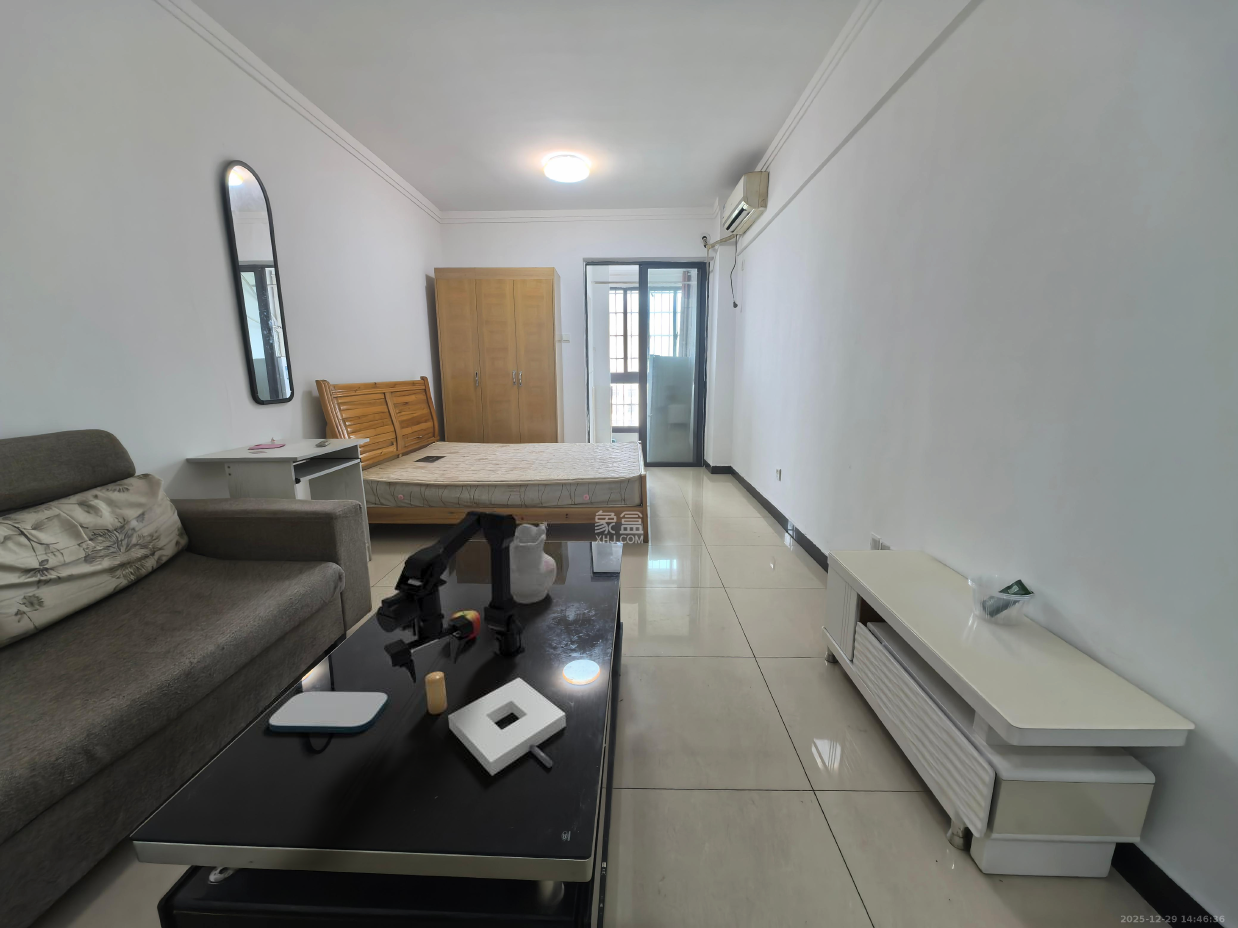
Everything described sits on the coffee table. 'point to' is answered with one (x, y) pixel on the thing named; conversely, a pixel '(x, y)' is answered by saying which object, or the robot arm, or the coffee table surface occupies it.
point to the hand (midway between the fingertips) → (434, 672)
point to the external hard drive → (329, 712)
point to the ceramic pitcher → (530, 565)
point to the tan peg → (436, 692)
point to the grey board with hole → (517, 738)
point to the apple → (473, 617)
